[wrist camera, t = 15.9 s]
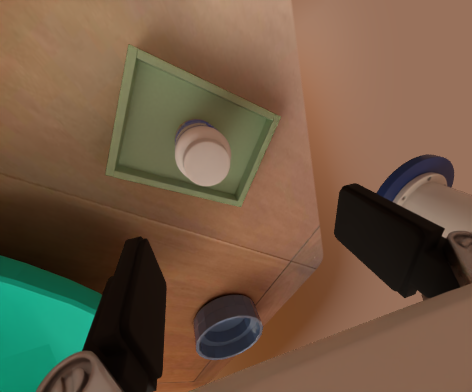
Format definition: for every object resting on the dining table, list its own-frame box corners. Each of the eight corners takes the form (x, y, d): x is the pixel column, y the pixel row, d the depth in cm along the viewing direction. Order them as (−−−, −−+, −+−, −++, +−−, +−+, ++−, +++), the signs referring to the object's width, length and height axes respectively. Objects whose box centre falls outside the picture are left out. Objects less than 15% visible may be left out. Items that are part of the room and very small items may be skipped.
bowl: (263, 293, 44) (273, 315, 40) (240, 333, 49) (247, 357, 44) (205, 291, 39) (209, 315, 35) (185, 335, 43) (187, 362, 39)
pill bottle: (223, 152, 27) (247, 180, 19) (185, 168, 27) (192, 203, 18) (208, 110, 24) (228, 121, 16) (165, 127, 24) (162, 147, 16)
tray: (271, 114, 27) (281, 116, 25) (235, 198, 32) (240, 207, 29) (133, 48, 21) (128, 43, 18) (111, 167, 25) (104, 175, 23)
